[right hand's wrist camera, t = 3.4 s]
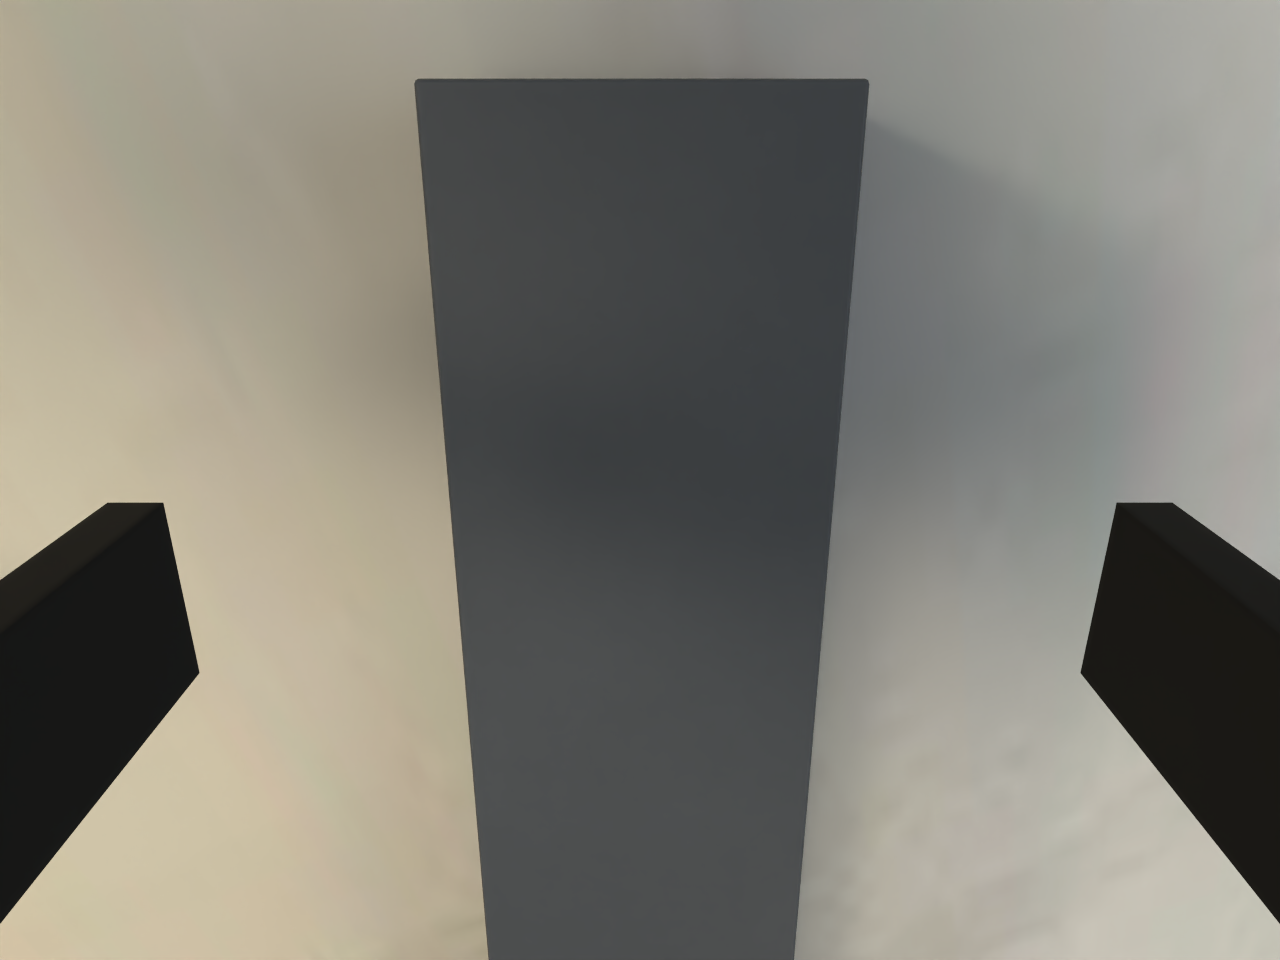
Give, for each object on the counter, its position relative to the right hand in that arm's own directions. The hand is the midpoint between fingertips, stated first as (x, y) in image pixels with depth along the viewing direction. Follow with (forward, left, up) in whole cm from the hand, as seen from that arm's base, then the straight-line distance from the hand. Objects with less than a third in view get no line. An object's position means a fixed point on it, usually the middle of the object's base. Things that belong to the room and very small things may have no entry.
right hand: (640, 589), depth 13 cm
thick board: (+13, -22, -16) cm, 30 cm away
